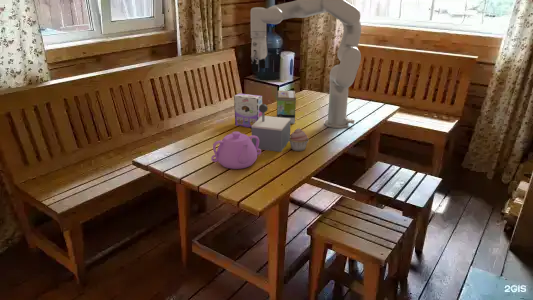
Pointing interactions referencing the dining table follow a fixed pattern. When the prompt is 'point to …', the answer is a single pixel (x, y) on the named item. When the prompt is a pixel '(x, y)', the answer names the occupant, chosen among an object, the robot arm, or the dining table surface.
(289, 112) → the tea box
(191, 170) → the dining table surface
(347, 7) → the robot arm
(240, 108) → the candy box
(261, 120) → the lid flap
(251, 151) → the purple round pot
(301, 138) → the cupcake
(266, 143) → the carton
